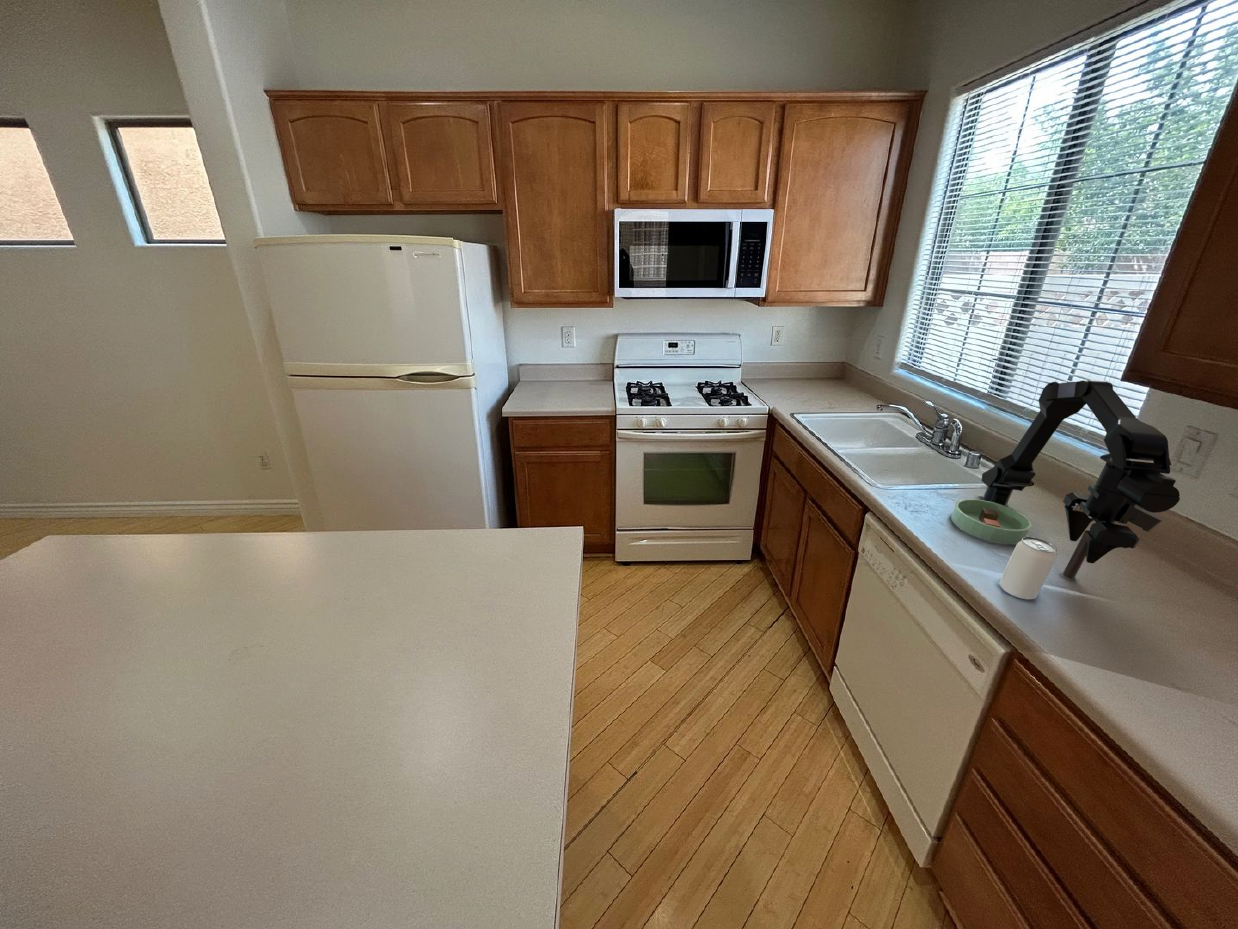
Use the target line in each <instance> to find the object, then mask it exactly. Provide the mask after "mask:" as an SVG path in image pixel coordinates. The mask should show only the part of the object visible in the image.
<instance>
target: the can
mask: <svg viewBox="0 0 1238 929" xmlns="http://www.w3.org/2000/svg"><path fill="white" fill-rule="evenodd" d="M1057 551H1058V549H1057V547H1056V545H1054V544H1052V543H1051V542H1049V541H1047V540H1045V539H1042V538H1039V537H1035V536H1027V537H1023V538H1022V540H1021V541H1020V542H1019V543H1017V544H1015V547H1014V549H1013V551H1012V554H1011V556H1010V558H1009V561H1008V562H1007V565H1006V566H1005V569H1004V570H1003V571H1004V572H1003V573H1002V575H1001V577H1000V580H999V586H1000V588H1001V589H1002V591H1003V592H1004V593H1006V594H1008V595H1010V596H1012V597H1014V598H1016V599H1020V600H1025V601H1030V600H1031V601H1032V600H1035V599H1036V598H1037V597H1038V595H1039V593H1040V591H1041V589H1042V587H1043V585H1044V583H1045V581H1046V579H1047V578H1048V575H1049V573H1050V571H1051V569H1052V567H1053V565H1054V563H1055V562H1056V558H1057Z"/></svg>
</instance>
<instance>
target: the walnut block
mask: <svg viewBox="0 0 1238 929" xmlns="http://www.w3.org/2000/svg"><path fill="white" fill-rule="evenodd" d="M998 516H999V515H998V513H997V512H996V511H995V510H990V509H985V508H983V509H982V511H981V514H980V516H979V519H980V521H981V522H983V519H984V518H985V519H990V520H995V521H997V519H998Z"/></svg>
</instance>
